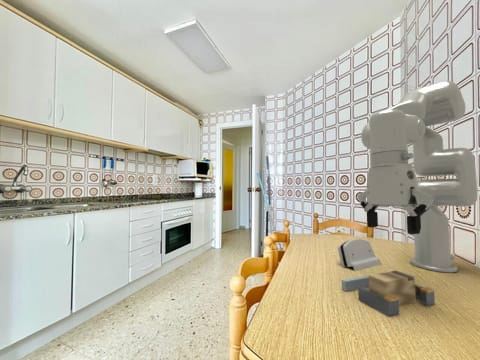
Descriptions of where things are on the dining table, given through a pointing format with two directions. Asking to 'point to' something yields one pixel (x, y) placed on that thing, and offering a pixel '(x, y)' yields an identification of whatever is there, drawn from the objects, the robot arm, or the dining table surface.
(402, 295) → the brown box
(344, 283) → the plank
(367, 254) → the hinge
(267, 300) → the dining table surface
